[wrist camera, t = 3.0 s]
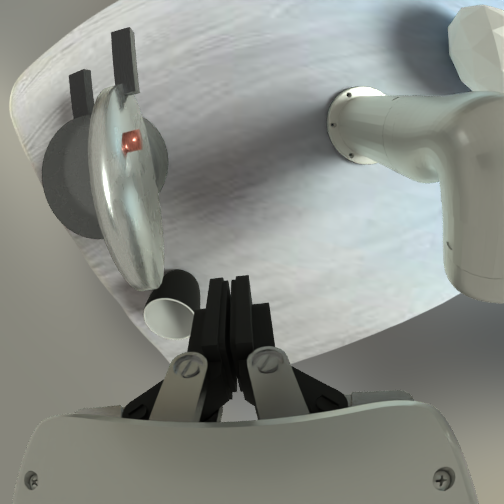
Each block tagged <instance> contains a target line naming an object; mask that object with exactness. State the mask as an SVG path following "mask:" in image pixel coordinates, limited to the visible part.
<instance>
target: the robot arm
mask: <svg viewBox="0 0 504 504" xmlns="http://www.w3.org/2000/svg"><path fill="white" fill-rule="evenodd" d="M346 94H348V97H347V95H346ZM331 123H333V126H331ZM327 129H328V134H329V137H330V140H331V142H332V144H333V145H334V147H335V148H336V149H337V151H338V152H339V153H340V154H341V155H343V156H344V157H345V158H347V159H348V160H350V161H353V162H355V163H358V164H363V165H371V164H375V163H379V164H381V165H383V166H385V167H387V168H389V169H391V170H393V171H395V172H397V173H399V174H401V175H403V176H405V177H407V178H409V179H411V180H414V181H416V182H420V183H436V182H440V189H441V202H442V212H443V261H444V268H445V272H446V275H447V277H448V279H449V281H450V282H451V284H452V285H453V286H454V287H455V288H456V289H457V290H458V291H459V292H461V293H463V294H464V295H466V296H468V297H470V298H473V299H476V300H479V301H485V302H490V303H504V93H500V92H495V91H472V92H465V93H459V94H452V95H442V96H417V95H412V96H408V95H385V94H384V93H382V92H380V91H379V90H376V89H374V88H371V87H366V86H360V87H352V88H350V89H347V90H345V91H343V92H342V93H340V94H339V95H338V96H337V97H336V98H335V99H334V101H333V102H332V104H331V106H330V108H329V111H328V116H327ZM350 153H351V155H350V156H349V154H350ZM237 378H238V383H239V387H240V391H241V392H242V391H243V393H244V397H245V400H246V401H248V402H249V403H251V404H252V405H254V406H255V410H256V414H257V418H258V420H254V421H240V422H239V421H238V422H221V418H222V413H223V405H224V404H225V403H226V402H228V401H229V399H232V392H236V391H237ZM12 504H479V503H478V499H477V495H476V491H475V488H474V484H473V482H472V478H471V475H470V472H469V469H468V466H467V463H466V460H465V457H464V455H463V452H462V450H461V447H460V445H459V443H458V440H457V438H456V436H455V434H454V432H453V430H452V428H451V426H450V425H449V423H448V421H447V420H446V418H445V417H444V416H443V414H442V413H441V412H440V411H439V410H438V409H436V408H435V407H434V406H432V405H430V404H427V403H423V402H418V401H414V399H413V397H412V396H411V395H410V394H409V393H407V392H405V391H401V390H393V391H374V392H352V394H351V395H344V394H342V393H341V392H339V391H338V390H336V389H334V388H332V387H330V386H327V385H326V384H324V383H322V382H320V381H318V380H316V379H314V378H313V377H311V376H309V375H307V374H305V373H303V372H301V371H300V370H298V369H296V368H294V367H292V366H291V365H290V362H289V359H288V357H287V355H286V353H285V352H284V351H282V350H281V349H279V348H277V347H275V343H274V336H273V328H272V321H271V314H270V307H269V303H262V304H252V298H251V290H250V282H249V275H245V276H236V280H232V281H231V294H230V288H229V283H228V281H224V280H223V278H215V279H210V283H209V290H208V297H207V304H206V309H196V310H195V312H194V317H193V322H192V328H191V334H190V339H189V345H188V351H187V352H186V353H182V354H180V355H178V356H176V357H175V358H174V359H173V360H172V362H171V363H170V366H169V368H168V371H167V373H166V376H165V378H164V380H162V381H161V382H159V383H158V384H156V385H155V386H153V387H152V388H151V389H149V390H148V391H147V392H145V393H143V394H142V395H140V396H139V397H137V398H136V399H134V400H133V401H131V402H130V403H129V404H128V405H126V407H122V406H121V405H117V406H107V407H97V408H84V409H79V410H78V411H76V412H75V413H72V414H61V415H56V416H52V417H49V418H47V419H45V420H43V421H42V422H40V424H39V425H38V426H37V427H36V429H35V430H34V432H33V434H32V436H31V439H30V441H29V443H28V446H27V448H26V451H25V454H24V457H23V460H22V463H21V466H20V470H19V474H18V478H17V482H16V487H15V491H14V496H13V501H12Z"/></svg>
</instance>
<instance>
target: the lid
mask: <svg viewBox="0 0 504 504" xmlns="http://www.w3.org/2000/svg"><path fill="white" fill-rule="evenodd" d="M111 39H112V55H113V67H114V77H115V86H112V87H108V88H106V89H104V90H103V91H102V92H100V94H99V96H98V97H97V99H96V102H95V104H94V107H93V111H92V115H91V119H90V126H89V137H88V165H89V175H90V184H91V190H92V196H93V201H94V206H95V210H96V214H97V218H98V222H99V225H100V228H101V231H102V234H103V237H104V240H105V243H106V245H107V248H108V250H109V252H110V255H111V257H112V259H113V261H114V263H115V265H116V266H117V268H118V270H119V272H120V273H121V275H122V276H123V278H124V279H125V280H126V281H127V282H128V284H129V285H130V286H131V287H133V288H134V289H135V290H138V291H147V290H152V289H157V288H159V287H160V285H161V283H162V280H163V274H164V238H163V227H162V218H161V209H160V202H159V195H158V188H157V187H158V181H157V176H156V171H155V165H154V160H153V154H152V148H151V146H150V145H149V141H148V136H147V132H146V128H145V125H144V121H143V118H142V114H141V111H140V108H139V106H138V103H137V100H136V98H135V96H134V94H138V93H140V91H139V82H138V73H137V63H136V52H135V38H134V32H133V31H132V29H131V28H130V27H129V28H125V29H121V30H118V31H114V32H111Z"/></svg>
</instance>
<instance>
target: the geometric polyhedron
mask: <svg viewBox="0 0 504 504" xmlns="http://www.w3.org/2000/svg"><path fill="white" fill-rule="evenodd" d="M448 38H449V55H450V57H451V59H452V62H453V64H454V66H455V68H456V70H457V73H458V75H459V77H460V80H461V81H462V82H463V83H464V84H465V85H466V86H467V87H469V88H470V89H471V90H472V91H495V92H500V93H504V10H501V9H498V8H494V7H490V6H487V5H476V6H470V7H463V8H461V9H460V10H459V12H458V13H457V15H456V16H455V18H454V19H453V21H452V22H451V24H450V25H449V26H448Z"/></svg>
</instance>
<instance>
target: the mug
mask: <svg viewBox="0 0 504 504" xmlns="http://www.w3.org/2000/svg"><path fill="white" fill-rule="evenodd" d="M196 309H200V290H199V285H198V283H197V281H196V279H195V278H194V277H193V276H192V275H191V274H190V273H188V272H186V271H183V270H174V271H171V272H169V273H167V274H166V275H164V276H163V280H162V283H161V285H160V287H159V288H157V289H154V290H153V291H152V293H151V295H150V297H149V299H148V301H147V303H146V305H145V308H144V312H143V317H144V321H145V323H146V325H147V326H148V328H149V329H150V330H151V331H152V332H154V333H155V334H157V335H158V336H160V337H163V338H165V339H169V340H182V339H186V338H188V337H190V334H191V328H192V322H193V317H194V312H195V310H196Z"/></svg>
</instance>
